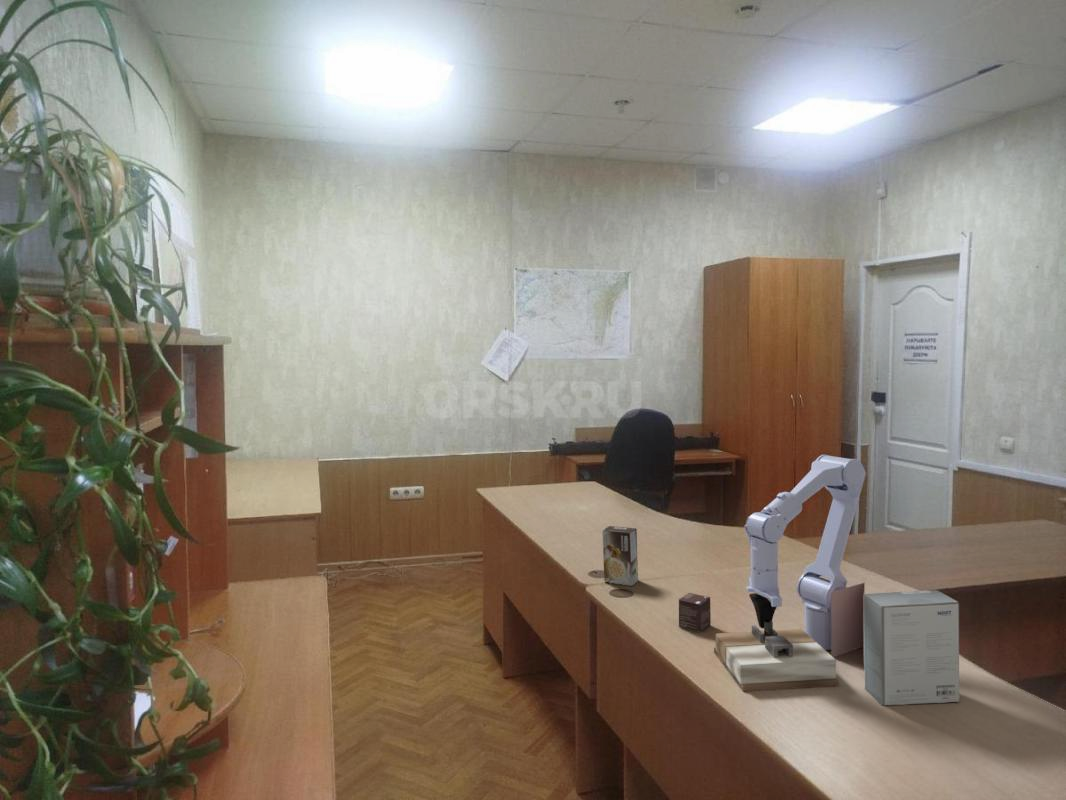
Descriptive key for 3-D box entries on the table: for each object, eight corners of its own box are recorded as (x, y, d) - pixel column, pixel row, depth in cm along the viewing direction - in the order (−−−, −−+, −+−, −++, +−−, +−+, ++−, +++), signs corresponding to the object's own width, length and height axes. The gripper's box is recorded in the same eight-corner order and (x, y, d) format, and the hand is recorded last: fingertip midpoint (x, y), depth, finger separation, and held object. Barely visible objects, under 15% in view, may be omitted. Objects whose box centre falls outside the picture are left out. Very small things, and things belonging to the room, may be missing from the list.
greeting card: (860, 644, 167) (861, 581, 166) (890, 656, 160) (890, 590, 159) (827, 656, 161) (827, 590, 160) (857, 668, 155) (857, 600, 154)
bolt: (762, 638, 159) (762, 620, 159) (770, 638, 159) (770, 619, 159) (774, 651, 152) (774, 632, 152) (783, 650, 152) (783, 631, 152)
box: (689, 620, 185) (689, 592, 184) (711, 625, 181) (711, 596, 181) (678, 627, 180) (677, 599, 180) (700, 633, 176) (700, 604, 176)
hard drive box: (937, 684, 147) (938, 589, 145) (960, 703, 139) (962, 602, 138) (862, 688, 146) (862, 592, 145) (881, 706, 139) (882, 605, 137)
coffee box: (639, 580, 218) (638, 528, 216) (631, 586, 212) (630, 533, 211) (610, 576, 222) (609, 525, 221) (603, 582, 216) (601, 530, 215)
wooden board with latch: (713, 652, 165) (713, 620, 165) (798, 647, 166) (798, 615, 166) (742, 691, 146) (742, 655, 146) (838, 685, 147) (838, 650, 147)
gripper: (735, 558, 166) (736, 615, 167) (758, 578, 152) (759, 641, 153) (765, 557, 166) (765, 614, 167) (791, 576, 152) (791, 639, 153)
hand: (764, 627), depth 160 cm, fingers closed
